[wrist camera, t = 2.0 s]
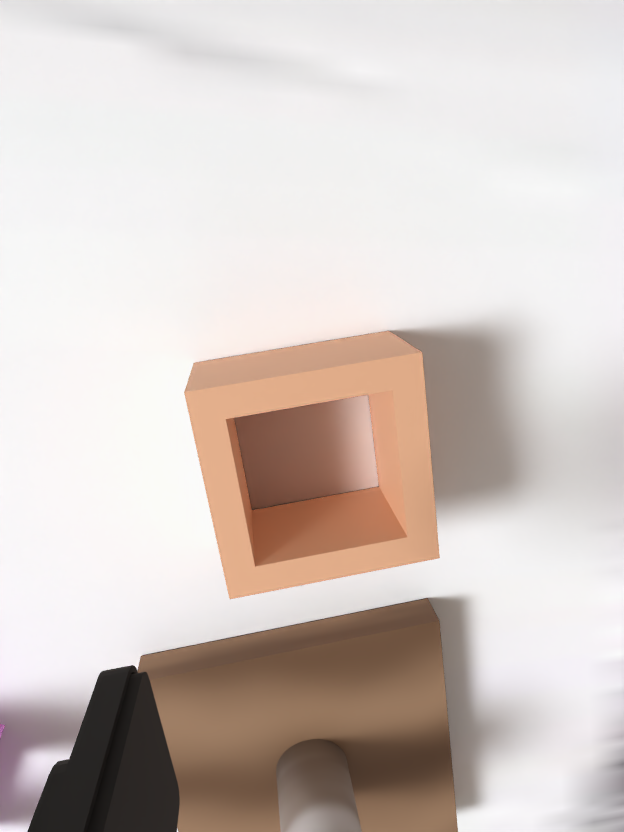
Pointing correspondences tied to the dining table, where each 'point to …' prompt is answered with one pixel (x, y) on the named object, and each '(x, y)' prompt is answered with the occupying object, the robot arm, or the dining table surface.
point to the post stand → (312, 726)
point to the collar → (332, 515)
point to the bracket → (1, 729)
